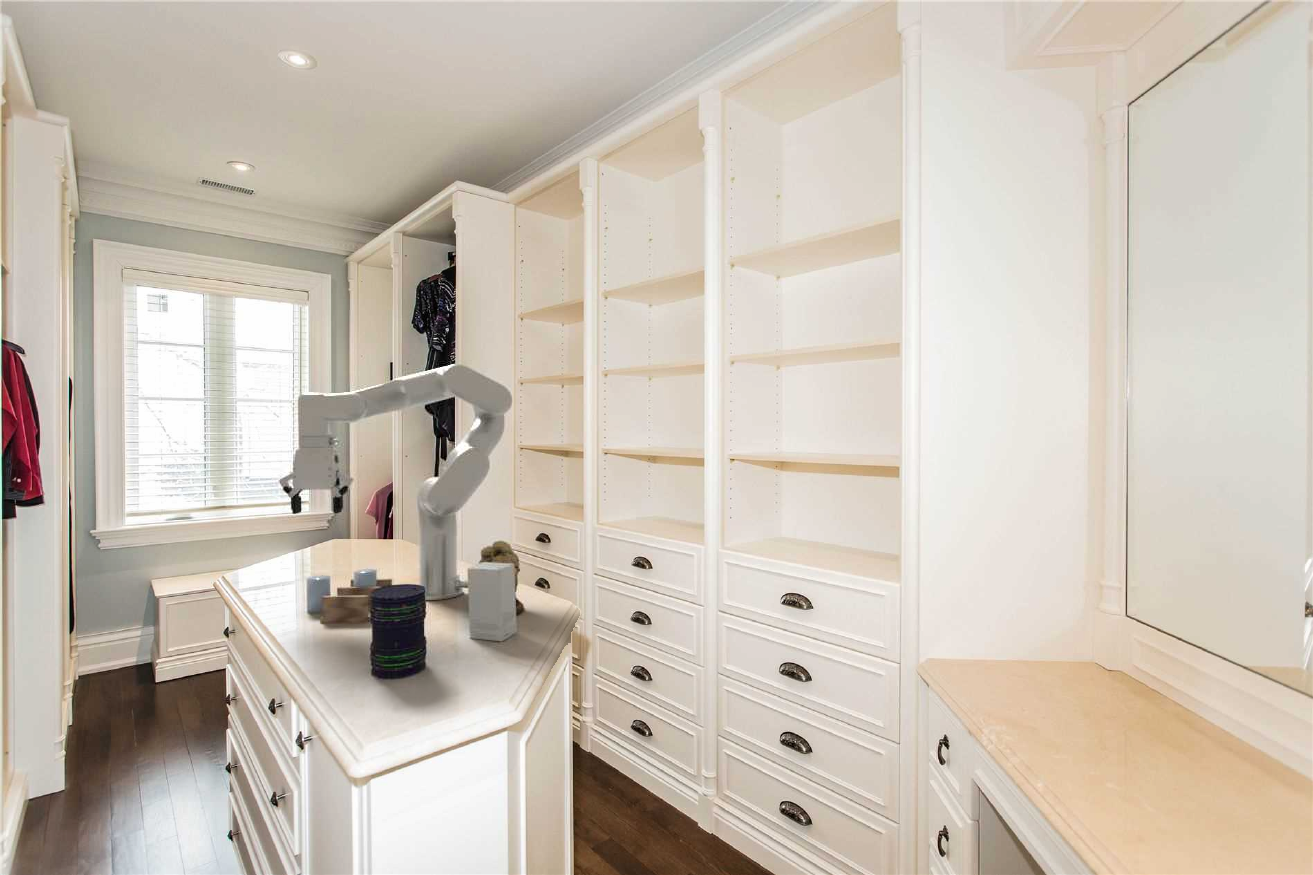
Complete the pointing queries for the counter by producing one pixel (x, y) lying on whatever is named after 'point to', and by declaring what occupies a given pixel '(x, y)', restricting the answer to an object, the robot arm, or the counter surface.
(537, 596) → the counter surface
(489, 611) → the skincare box
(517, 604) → the brown rough rounded piece
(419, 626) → the storage jar
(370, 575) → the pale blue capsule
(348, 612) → the rack
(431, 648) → the counter surface
